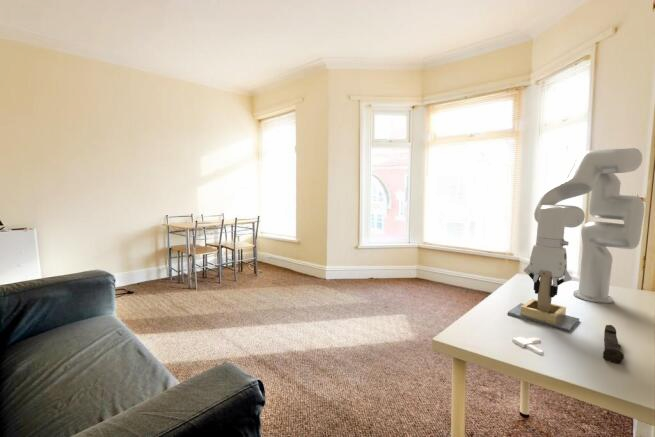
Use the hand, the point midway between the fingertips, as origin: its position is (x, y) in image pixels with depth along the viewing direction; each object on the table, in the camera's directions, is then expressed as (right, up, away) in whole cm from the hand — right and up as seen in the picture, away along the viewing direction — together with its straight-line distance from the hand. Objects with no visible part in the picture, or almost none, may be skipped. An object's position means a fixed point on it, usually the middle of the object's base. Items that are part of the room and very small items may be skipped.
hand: (544, 294), depth 110 cm
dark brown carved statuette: (+5, -11, -19) cm, 23 cm away
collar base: (0, -9, +1) cm, 9 cm away
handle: (0, -6, +1) cm, 6 cm away
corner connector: (-15, -12, -18) cm, 27 cm away
